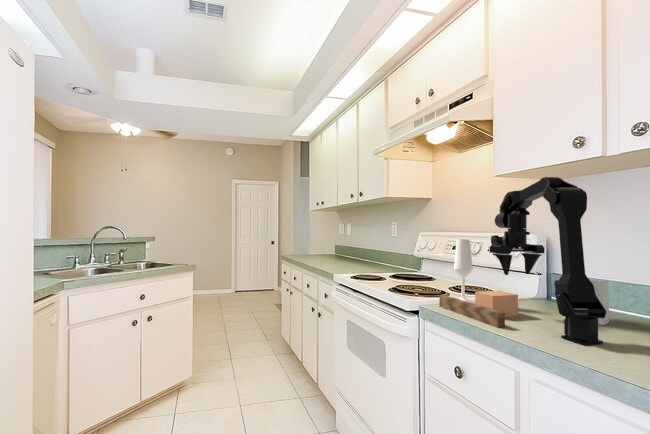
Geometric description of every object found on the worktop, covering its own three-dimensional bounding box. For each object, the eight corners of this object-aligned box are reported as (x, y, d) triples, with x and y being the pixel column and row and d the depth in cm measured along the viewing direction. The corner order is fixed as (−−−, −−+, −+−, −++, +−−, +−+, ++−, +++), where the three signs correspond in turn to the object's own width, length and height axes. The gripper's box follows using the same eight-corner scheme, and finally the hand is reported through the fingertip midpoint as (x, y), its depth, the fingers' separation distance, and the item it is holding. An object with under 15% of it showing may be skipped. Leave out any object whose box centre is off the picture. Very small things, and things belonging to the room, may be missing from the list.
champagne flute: (474, 304, 132) (474, 240, 133) (454, 303, 134) (455, 239, 134) (470, 301, 139) (471, 239, 139) (452, 300, 140) (452, 239, 141)
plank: (504, 327, 102) (504, 313, 103) (498, 327, 102) (498, 313, 102) (445, 306, 129) (445, 295, 129) (439, 306, 129) (439, 295, 129)
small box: (609, 322, 110) (609, 279, 110) (603, 325, 106) (603, 281, 106) (578, 317, 116) (578, 276, 116) (571, 320, 112) (571, 278, 112)
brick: (518, 316, 116) (517, 294, 116) (492, 318, 113) (492, 296, 114) (499, 310, 124) (499, 290, 124) (475, 312, 121) (475, 291, 121)
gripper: (518, 228, 133) (518, 270, 132) (477, 228, 127) (477, 272, 126) (545, 229, 122) (545, 274, 122) (502, 228, 116) (502, 276, 116)
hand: (516, 274), depth 122 cm, fingers open, 9 cm apart
